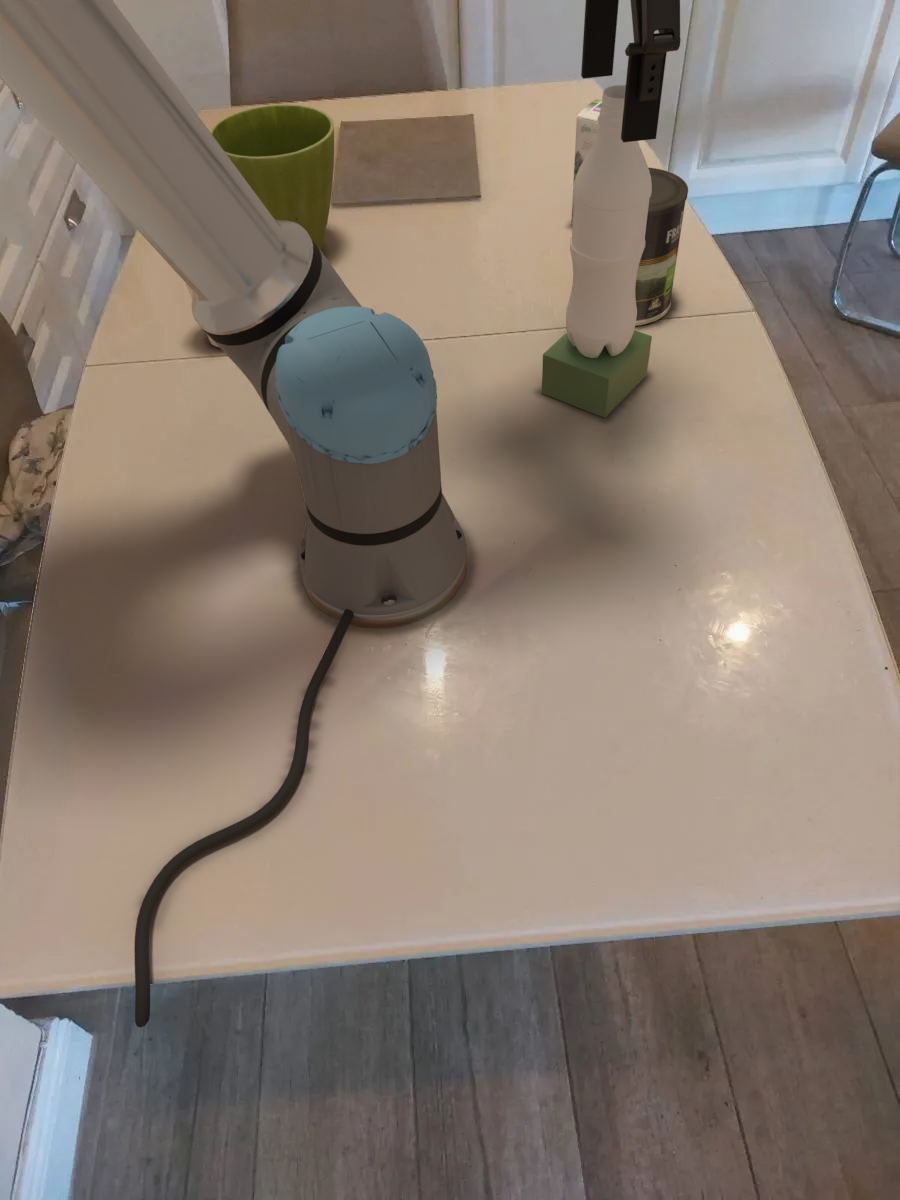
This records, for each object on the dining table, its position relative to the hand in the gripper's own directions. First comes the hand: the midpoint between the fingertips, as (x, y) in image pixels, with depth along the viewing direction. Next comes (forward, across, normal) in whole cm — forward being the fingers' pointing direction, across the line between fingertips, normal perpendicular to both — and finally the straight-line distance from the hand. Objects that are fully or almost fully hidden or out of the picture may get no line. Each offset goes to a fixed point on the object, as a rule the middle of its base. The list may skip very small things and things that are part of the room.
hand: (616, 106), depth 78 cm
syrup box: (+29, +35, -10) cm, 46 cm away
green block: (+29, 0, 0) cm, 29 cm away
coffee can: (+29, +15, -8) cm, 34 cm away
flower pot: (+29, +36, +31) cm, 56 cm away
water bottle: (+24, 0, 0) cm, 24 cm away
